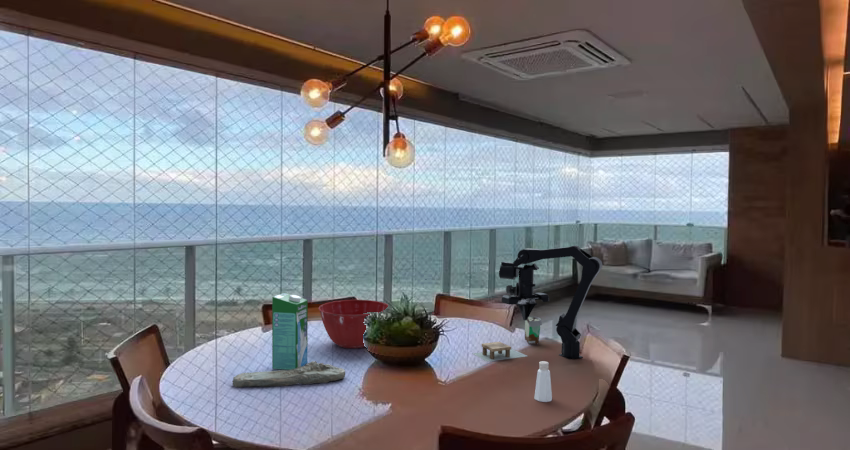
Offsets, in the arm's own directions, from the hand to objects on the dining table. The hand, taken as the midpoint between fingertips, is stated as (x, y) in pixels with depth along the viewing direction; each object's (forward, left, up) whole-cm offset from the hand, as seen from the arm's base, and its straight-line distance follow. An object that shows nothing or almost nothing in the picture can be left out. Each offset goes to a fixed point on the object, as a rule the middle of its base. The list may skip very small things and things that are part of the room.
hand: (525, 320), depth 209 cm
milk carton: (+15, +88, -12) cm, 90 cm away
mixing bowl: (+34, +59, -12) cm, 69 cm away
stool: (-3, +11, -10) cm, 15 cm away
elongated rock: (-1, +91, -13) cm, 92 cm away
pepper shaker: (-45, +25, -12) cm, 53 cm away
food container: (+9, -11, -12) cm, 19 cm away
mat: (-3, +13, -12) cm, 18 cm away
